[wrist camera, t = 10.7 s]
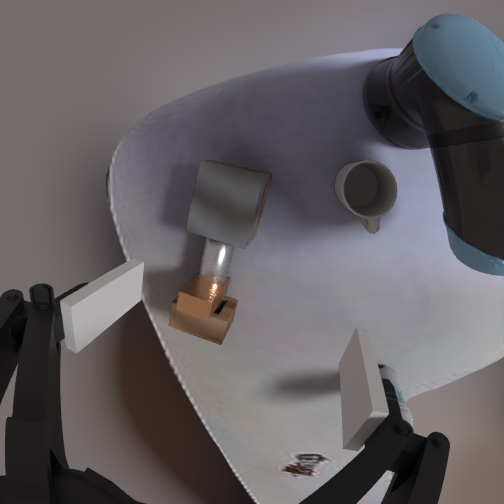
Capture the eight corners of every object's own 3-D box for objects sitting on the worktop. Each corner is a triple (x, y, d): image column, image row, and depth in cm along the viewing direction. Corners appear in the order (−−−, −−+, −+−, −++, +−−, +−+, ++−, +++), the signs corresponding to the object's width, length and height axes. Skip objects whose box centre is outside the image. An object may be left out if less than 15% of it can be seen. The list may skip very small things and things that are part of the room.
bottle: (387, 388, 49) (406, 465, 30) (358, 385, 50) (370, 465, 31) (401, 363, 47) (428, 440, 28) (371, 359, 48) (391, 440, 29)
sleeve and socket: (215, 160, 43) (199, 159, 36) (271, 174, 43) (265, 175, 35) (185, 305, 51) (168, 325, 44) (232, 321, 51) (221, 345, 43)
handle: (216, 206, 44) (193, 216, 35) (245, 214, 44) (229, 226, 34) (195, 306, 50) (172, 335, 40) (220, 315, 49) (202, 346, 40)
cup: (373, 158, 39) (390, 155, 31) (387, 221, 41) (405, 233, 33) (328, 167, 41) (334, 166, 32) (343, 231, 43) (352, 246, 35)
